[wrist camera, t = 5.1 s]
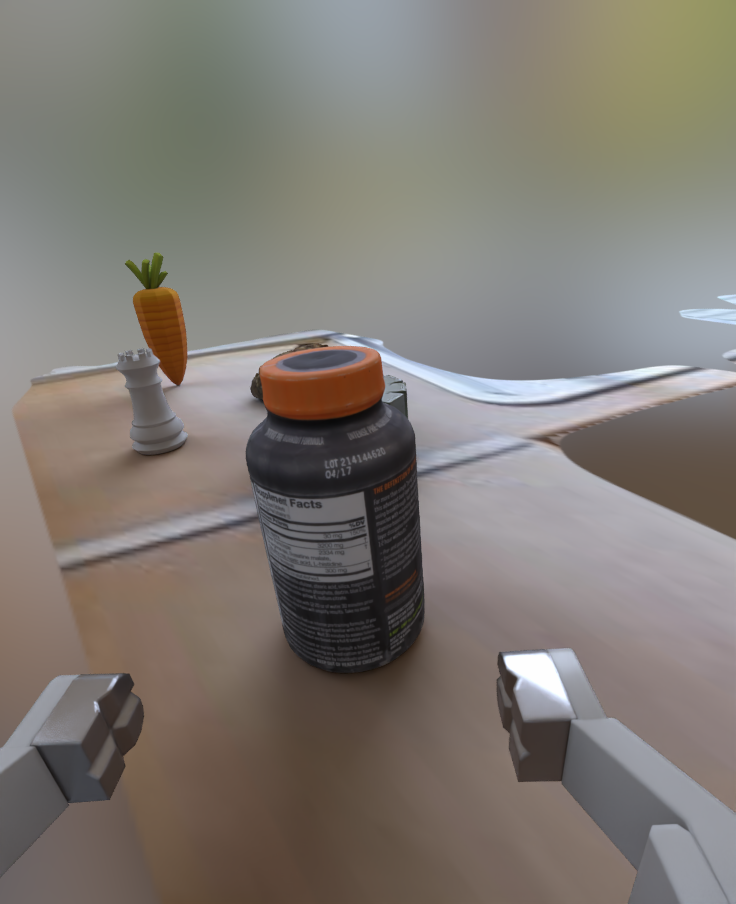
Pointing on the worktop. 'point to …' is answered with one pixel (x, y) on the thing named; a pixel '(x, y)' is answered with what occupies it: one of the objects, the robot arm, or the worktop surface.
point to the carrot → (161, 318)
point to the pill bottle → (338, 508)
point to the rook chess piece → (149, 405)
